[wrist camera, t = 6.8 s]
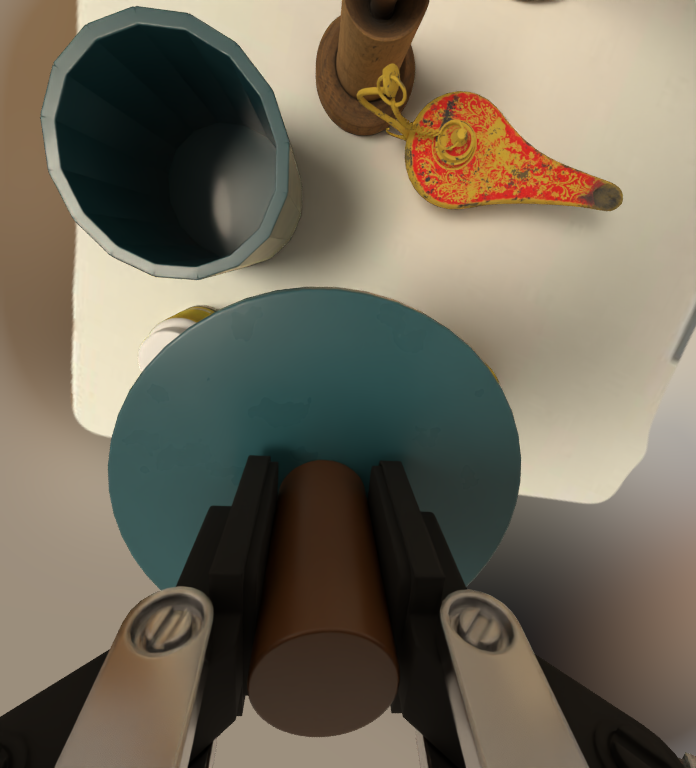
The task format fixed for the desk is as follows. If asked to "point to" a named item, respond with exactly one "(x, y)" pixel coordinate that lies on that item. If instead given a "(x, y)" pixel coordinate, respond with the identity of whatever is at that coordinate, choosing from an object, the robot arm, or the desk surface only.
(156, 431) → the lid
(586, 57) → the desk surface
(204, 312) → the supplement bottle
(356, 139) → the desk surface
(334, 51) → the mortar and pestle
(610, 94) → the desk surface
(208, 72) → the pot
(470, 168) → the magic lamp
